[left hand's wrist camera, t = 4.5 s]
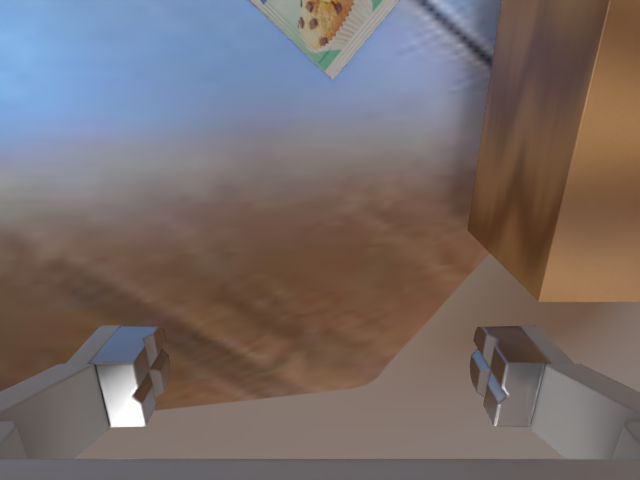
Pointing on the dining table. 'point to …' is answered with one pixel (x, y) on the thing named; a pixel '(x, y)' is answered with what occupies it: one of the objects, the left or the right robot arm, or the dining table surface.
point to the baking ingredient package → (327, 26)
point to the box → (563, 150)
